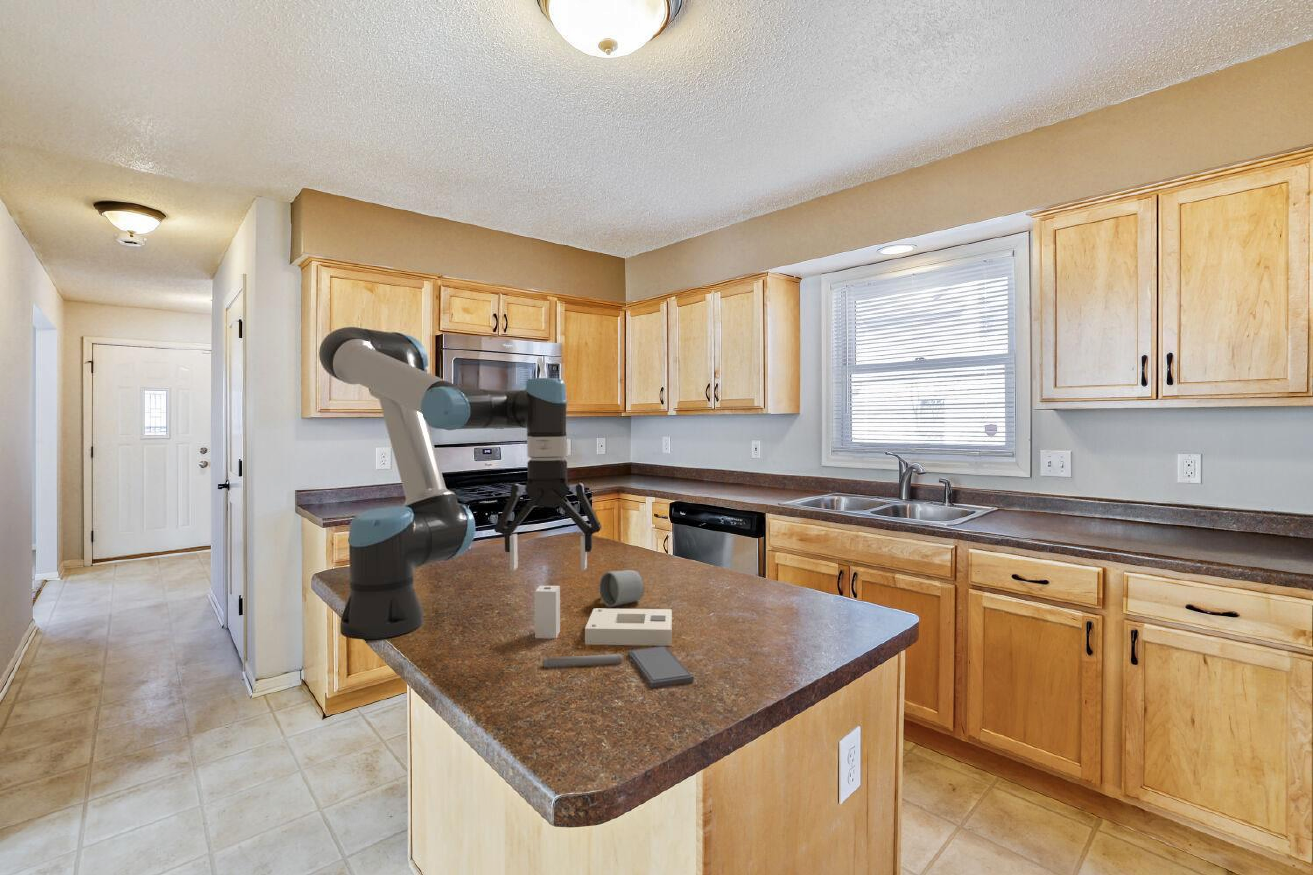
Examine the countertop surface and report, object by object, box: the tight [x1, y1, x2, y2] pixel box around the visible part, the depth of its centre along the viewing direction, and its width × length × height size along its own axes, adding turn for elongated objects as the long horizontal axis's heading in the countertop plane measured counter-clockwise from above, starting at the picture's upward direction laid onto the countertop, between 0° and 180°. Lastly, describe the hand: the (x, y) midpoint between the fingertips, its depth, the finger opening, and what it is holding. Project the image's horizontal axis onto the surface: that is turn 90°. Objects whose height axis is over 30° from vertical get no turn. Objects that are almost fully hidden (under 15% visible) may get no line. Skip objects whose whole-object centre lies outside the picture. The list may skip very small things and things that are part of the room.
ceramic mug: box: [599, 569, 645, 608], centre depth 140 cm, size 11×8×8 cm
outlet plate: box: [584, 607, 673, 647], centre depth 119 cm, size 16×12×3 cm
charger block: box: [534, 585, 561, 639], centre depth 118 cm, size 4×4×9 cm
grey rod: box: [542, 653, 624, 669], centre depth 104 cm, size 14×2×2 cm, turn 98°
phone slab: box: [627, 646, 695, 689], centre depth 103 cm, size 7×14×1 cm, turn 18°
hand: (548, 568), depth 118 cm, fingers open, 13 cm apart
